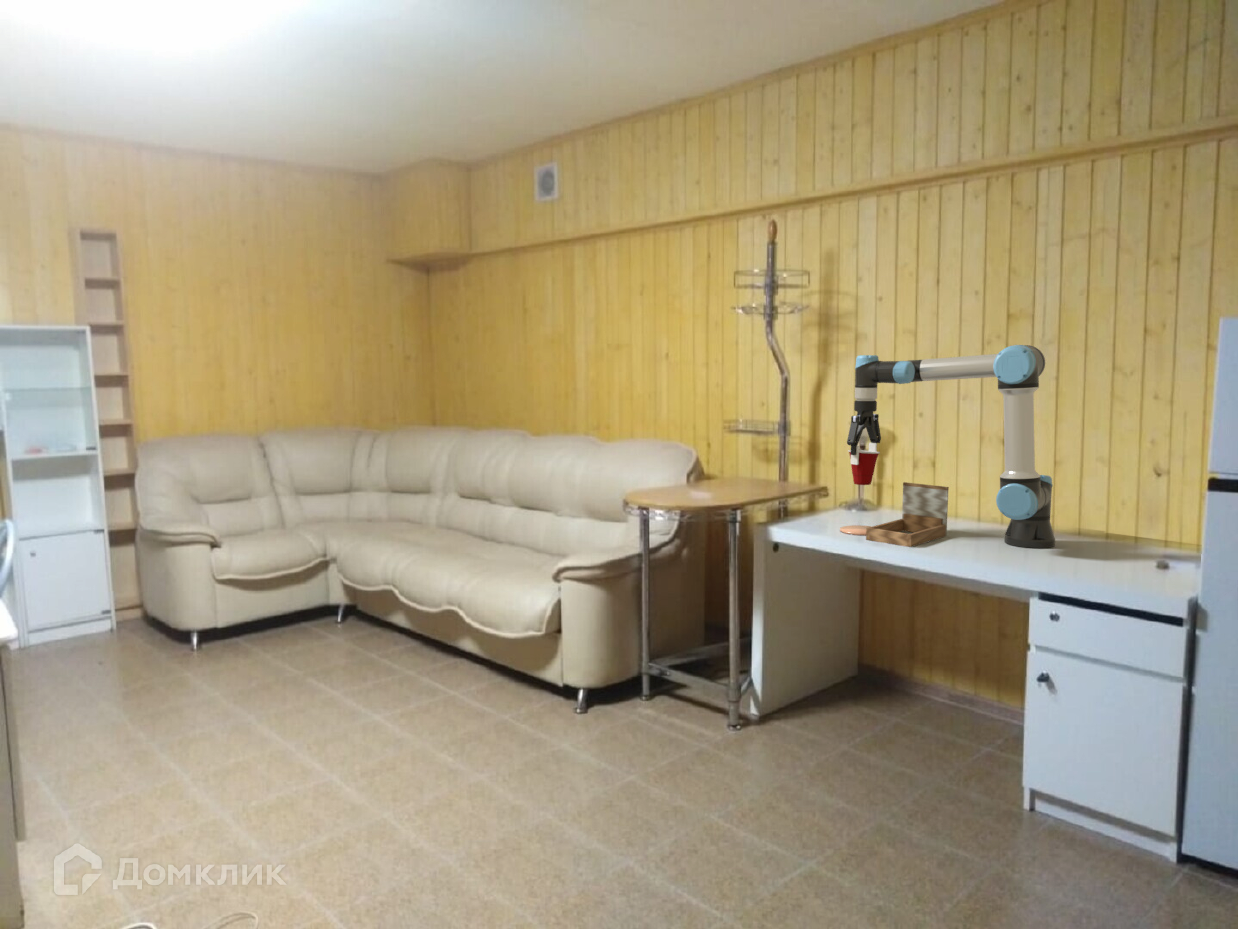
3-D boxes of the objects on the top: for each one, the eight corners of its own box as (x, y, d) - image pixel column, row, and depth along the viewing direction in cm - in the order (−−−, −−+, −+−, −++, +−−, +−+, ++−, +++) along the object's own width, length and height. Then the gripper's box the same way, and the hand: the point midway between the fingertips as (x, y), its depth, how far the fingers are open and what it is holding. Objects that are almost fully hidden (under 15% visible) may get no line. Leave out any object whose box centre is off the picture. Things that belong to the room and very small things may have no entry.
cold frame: (946, 535, 303) (948, 487, 301) (910, 547, 287) (912, 495, 284) (903, 529, 315) (904, 482, 313) (866, 539, 299) (867, 490, 296)
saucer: (888, 531, 312) (888, 529, 312) (867, 537, 302) (867, 535, 302) (854, 526, 322) (854, 523, 322) (832, 531, 313) (832, 529, 312)
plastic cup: (884, 483, 310) (885, 449, 308) (868, 487, 302) (870, 452, 300) (856, 480, 317) (858, 447, 316) (840, 483, 310) (841, 450, 308)
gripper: (873, 398, 316) (871, 458, 319) (837, 400, 301) (835, 464, 304) (892, 398, 311) (890, 460, 314) (856, 401, 295) (854, 467, 298)
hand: (863, 462), depth 309 cm, fingers closed on plastic cup, 11 cm apart
